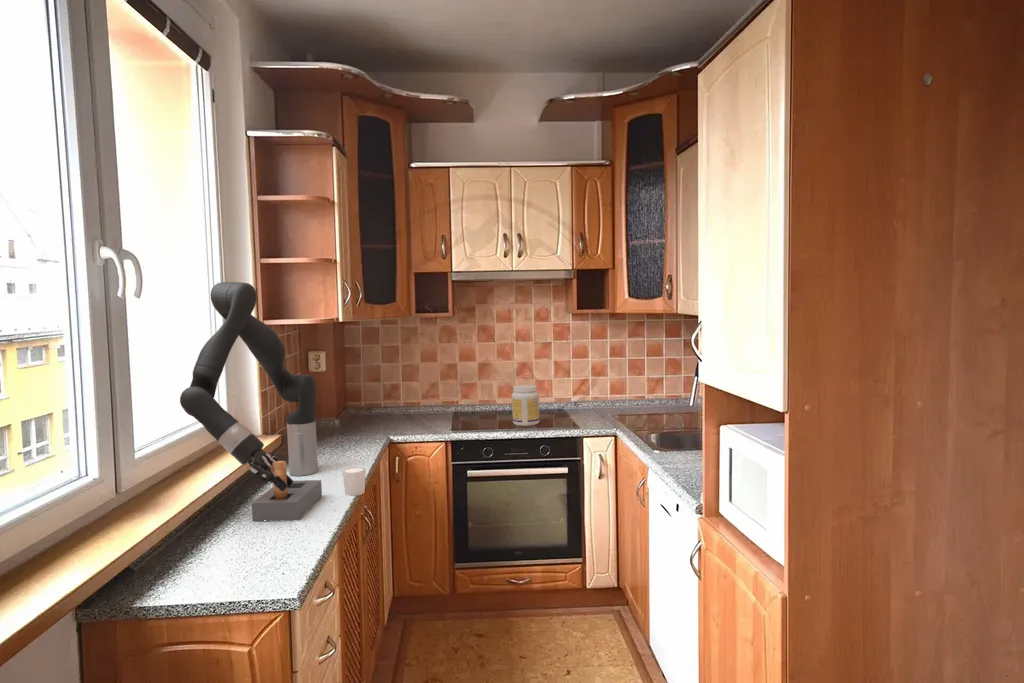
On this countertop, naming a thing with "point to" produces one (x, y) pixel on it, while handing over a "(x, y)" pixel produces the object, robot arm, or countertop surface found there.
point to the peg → (280, 470)
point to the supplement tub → (525, 405)
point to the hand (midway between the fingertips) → (288, 486)
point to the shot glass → (354, 481)
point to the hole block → (287, 502)
